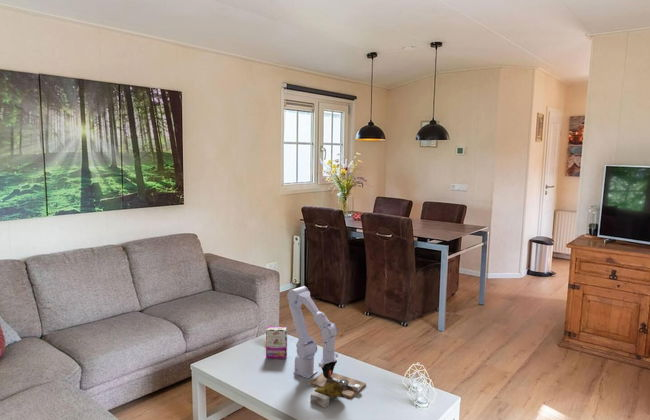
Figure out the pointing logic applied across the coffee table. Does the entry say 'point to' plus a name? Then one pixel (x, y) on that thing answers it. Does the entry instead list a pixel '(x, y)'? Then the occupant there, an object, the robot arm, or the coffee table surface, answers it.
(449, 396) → the coffee table surface
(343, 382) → the lever
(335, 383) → the potato
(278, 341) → the candy bar box
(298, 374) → the robot arm
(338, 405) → the coffee table surface
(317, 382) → the board
